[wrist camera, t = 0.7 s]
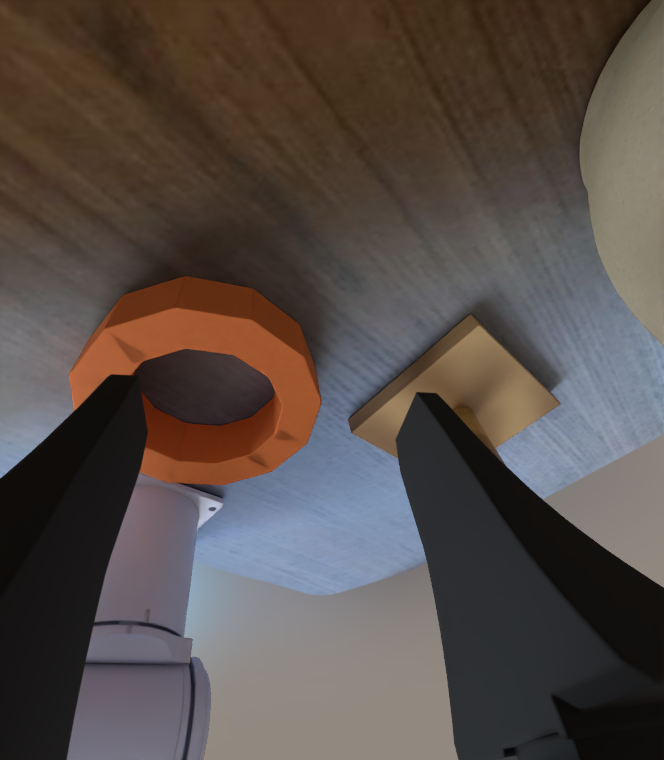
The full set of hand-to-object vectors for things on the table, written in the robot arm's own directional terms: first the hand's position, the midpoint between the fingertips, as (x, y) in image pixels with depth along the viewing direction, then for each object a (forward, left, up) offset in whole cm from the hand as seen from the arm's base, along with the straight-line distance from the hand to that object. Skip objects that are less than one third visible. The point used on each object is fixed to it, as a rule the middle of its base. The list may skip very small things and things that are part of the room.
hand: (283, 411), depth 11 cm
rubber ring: (-8, -1, -10) cm, 13 cm away
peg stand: (-1, -15, -10) cm, 19 cm away
